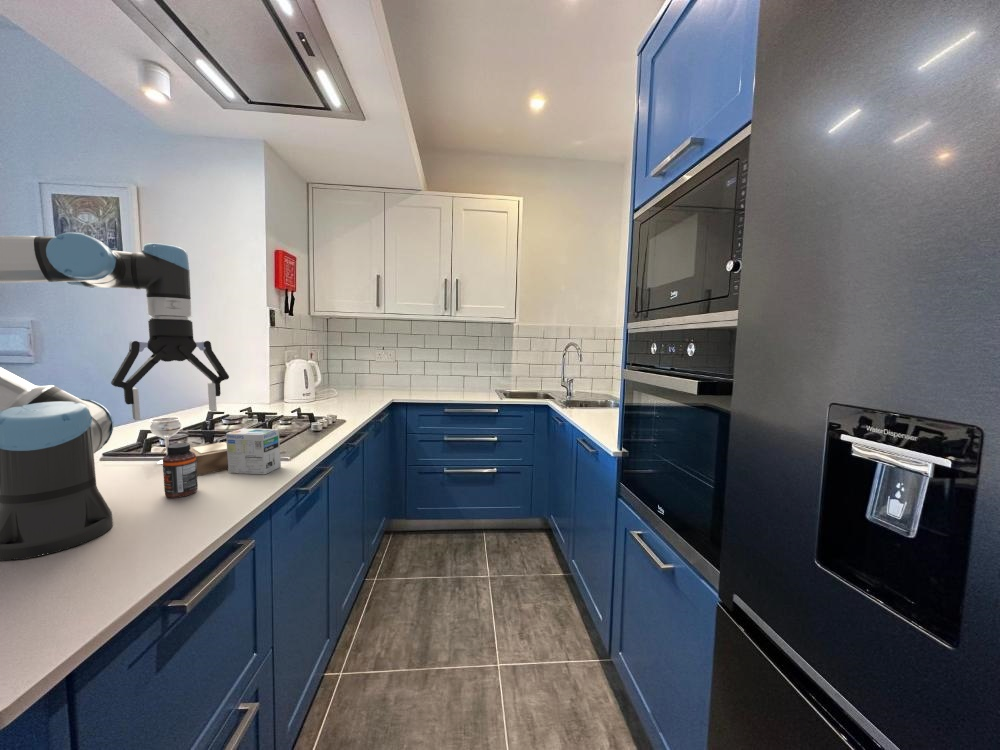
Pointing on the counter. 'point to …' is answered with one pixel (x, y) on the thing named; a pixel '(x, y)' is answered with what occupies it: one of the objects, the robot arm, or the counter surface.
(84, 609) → the counter surface
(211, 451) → the walnut riser
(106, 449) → the counter surface
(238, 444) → the light bulb box
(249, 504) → the counter surface
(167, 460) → the supplement bottle
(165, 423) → the wineglass
